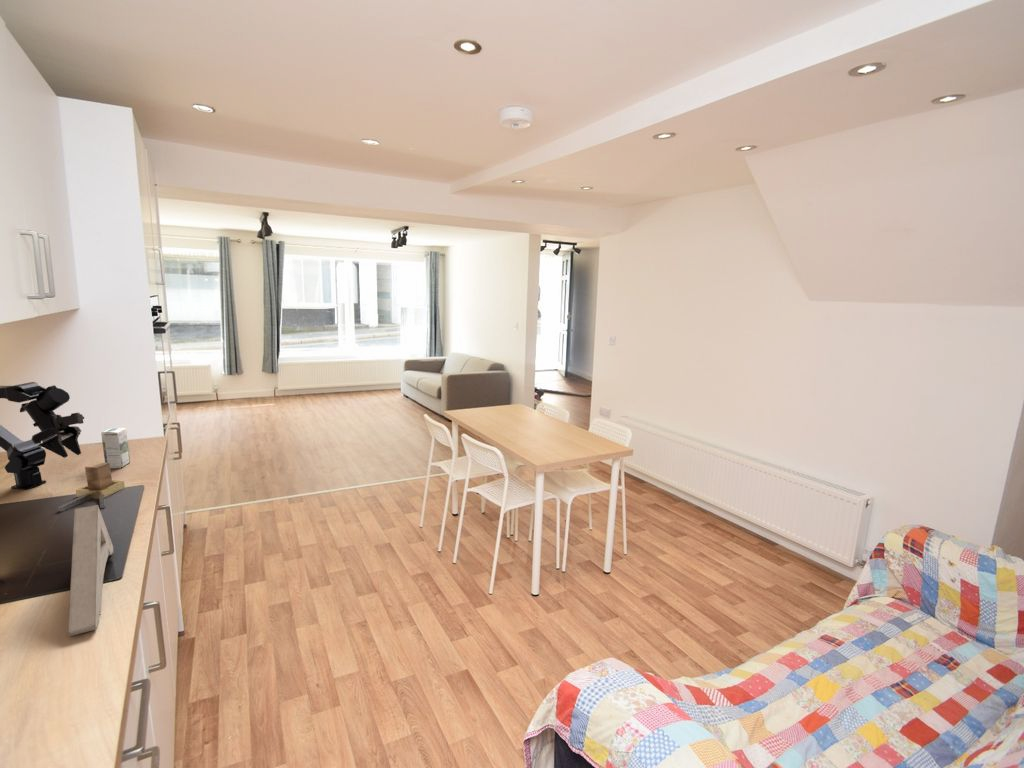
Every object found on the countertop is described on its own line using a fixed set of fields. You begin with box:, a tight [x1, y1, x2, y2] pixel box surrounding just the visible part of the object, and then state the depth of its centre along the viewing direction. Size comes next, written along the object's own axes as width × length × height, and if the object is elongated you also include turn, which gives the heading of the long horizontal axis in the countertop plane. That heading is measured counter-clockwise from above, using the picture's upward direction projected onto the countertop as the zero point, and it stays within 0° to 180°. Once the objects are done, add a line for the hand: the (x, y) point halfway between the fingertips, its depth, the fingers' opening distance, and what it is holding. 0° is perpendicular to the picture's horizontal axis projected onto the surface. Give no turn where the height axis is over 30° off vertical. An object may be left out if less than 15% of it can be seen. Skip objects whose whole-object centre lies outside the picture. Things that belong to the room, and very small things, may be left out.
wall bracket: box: [67, 504, 114, 637], centre depth 119 cm, size 22×4×30 cm
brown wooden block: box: [84, 461, 113, 490], centre depth 169 cm, size 4×4×10 cm
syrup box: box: [101, 427, 131, 469], centre depth 191 cm, size 6×6×14 cm
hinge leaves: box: [57, 479, 126, 513], centre depth 164 cm, size 15×19×2 cm
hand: (73, 455), depth 169 cm, fingers open, 9 cm apart
